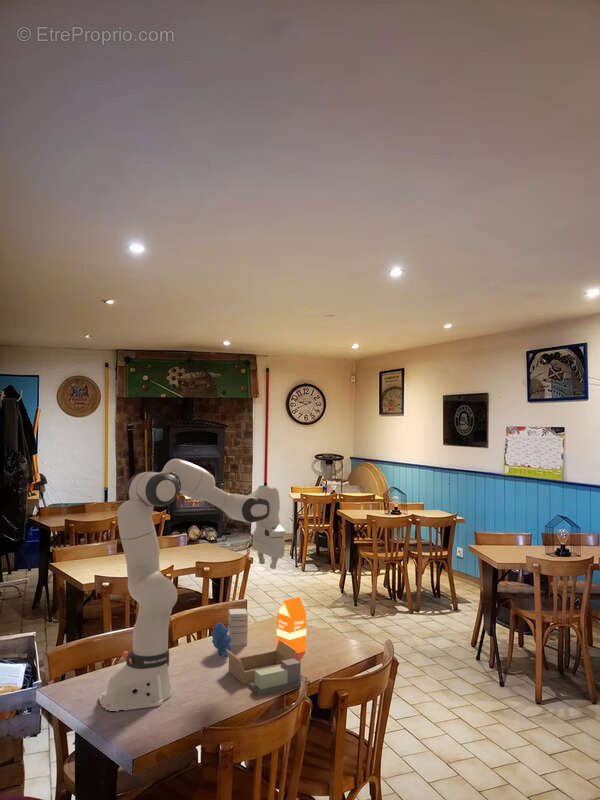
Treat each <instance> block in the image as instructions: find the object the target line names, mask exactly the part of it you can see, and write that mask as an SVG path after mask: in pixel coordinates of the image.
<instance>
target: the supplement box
mask: <svg viewBox="0 0 600 800" xmlns="http://www.w3.org/2000/svg"><path fill="white" fill-rule="evenodd" d="M248 621H249V614H248V611H247V608H231V609H228V627H227V629H228V633H227V634H228V635H229V636H230V637H231V642H230V643H229V644H230V645H231V646H232V647H239V646H240V647H241V646H248V627H249V626H248V625H249V624H248V623H249V622H248Z"/></svg>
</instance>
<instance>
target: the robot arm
mask: <svg viewBox="0 0 600 800" xmlns="http://www.w3.org/2000/svg"><path fill="white" fill-rule="evenodd" d="M126 487H127V488H126V494H125V501H124V502H123V503H121V504H120V505H119V507H118V508H117V512H116V513H117V526H118V531H119V537H120V541H121V546H122V549H123V554H124V557H125V562H126V572H127V573H126V574H127V589H128V592H129V594H130V596H131V598H132V599H133V600H134V601H136V602H137V603H138V615H137V618H136V622H135V623H134V625H133V634H132V637H133V638H132V650H131V651H130V652H128V650H125V651H123V653H122V654H121V655H122V657H123V659H124V660H125V661H126V664H124V665H123V666H122V667H121V668H120V669H119V670H118V671H116V672H115V673H114V674H113V675H112V676H111V677H110V678H109V680H108V681H107V682H108V683H107V687H106V688H107V689H106V690H105V691H102V692H101V694H100V695H99V697H98V698H99V699H98V702H100V703H99V705H100V704H101V705H100V706H102V707H103V708H105V709H107V710H109V711H116V712H120V711H119V710H124V711H129V710H138V709H146V708H154V707H159V706H161V705H162V704H163V703H164V701H166V700H167V699H169V698H171V696H172V693H173V690H172V688H171V683H170V677H169V665H170V648H169V624H170V620H171V615H172V612H173V611H172V610H173V608H174V607H175V605H176V604H177V601H178V596H179V594H178V589H177V588H176V586H175V584H174V582H173V581H172V580H171V579H170V578H168V577H166V576H164V575H163V574H162V571H161V569H160V554H161V549H160V548H161V547H160V545H159V539H158V535H157V531H156V527H155V524H154V521H153V511H154V507H159V508H160V507H161V508H162V507H165V506H169V505H170V504H172V503H173V502H174V501H175V500H176V498H177V496H178V494H181V495H183V496H185V497H187V498H189V499H192V500H196V501H200V502H204V501H205V502H206V503H209V504H210V505H211V506H214V507H216V508H218V510H220V512H221V513H222V514H223V516H224V517H226V518H227V519H229V520H232V521H240V522H244V523H255V529H254V531H253V534H252V550H253V551H256V552H257V557H258V563H259V565H265V563H266V559H265V557H264V556H265V555H266V556H268V557H270V558H271V563H270V564H269V566H270V567H269V568H270V569H271V570H276V569H277V564H278V562H279V559H283V557H284V556H285V551H286V549H285V548H286V547H285V546H286V545H285V544H286V540H285V537H286V530H285V529H284V528H283V527H282V525H281V524H280V517H279V515H280V514H279V513H280V508H281V506H280V505H281V503H280V493H279V490H278V489H277V487H275V486H274V487H273V486H267V485H259V486H258V488H257V489H255V490H254V491H253V492H251V493H250V494H247V495H245V494H240V493H236V492H226V491H224V490H222V489H221V488H219V487H217V486H216V479H215V477H214V475H213V474H212V473H211V472H209V471H208V470H206V469H205V468H203V467H202V466H199V465H197V464H194V463H192V462H190V461H188V460H185V459H181V458H172V459H170V460H169V461H167V462H166V464H165V465H164V467H163V468H162V470H161V471H159V472H157V471H141V472H138V473H135V474H134V475H132V476H131V477H130V479H129V480H128V483H127V486H126ZM102 707H101V708H102ZM103 708H102V709H103ZM105 709H104V710H105ZM107 710H106V711H107ZM109 711H108V712H109Z"/></svg>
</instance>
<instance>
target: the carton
mask: <svg viewBox="0 0 600 800" xmlns="http://www.w3.org/2000/svg"><path fill="white" fill-rule="evenodd" d="M226 652H227V655H228V656H227V657H228V672H229V673H231V674H232V675H233V676H234V677H235V678H236V679H237V680H238V681H239V682H240V683H242V684H243V685H246V684H247V685H249V683H253V682H255V671H256V670H261V669H266V668H271V667H276V666H281V661H283V660H288V659H293V658H294V659H296V658H295V657H296V650H295V649H293V648H292V647H290V646H288V645H287V644H285V643H284V642H282V641H281V640H279V642H278V645H277V644H276V649H275V650H272V651H268V652H267V651H266V652H261V653H256V654H251V655H250V654H249V655H246V656H245V655H244V656H240V657H237V655H235V654H234V653H233V652H231V651H229V650H228V649H226ZM274 663H276V664H275V665H270V664H274ZM268 664H269V666H264V665H268ZM257 666H264V667H261V668H255V669H250V670H245V669H247V668H248V669H249V668H253V667H257Z"/></svg>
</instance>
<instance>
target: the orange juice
mask: <svg viewBox="0 0 600 800" xmlns="http://www.w3.org/2000/svg"><path fill="white" fill-rule="evenodd" d="M279 640H281V641H282V642H284V643H285V644H287V645H288V646H290V647H292V648H293V649H295V650H296V653H297V654H299V653H303V652H306V651H307V611H306V609H305V607H304V604H303V601H302V599H301V597H300V596H299V597H294V598H290V599H286V600H285V599H284V600H283V601H282V604H281V606H280V607H279V609H278V611H277V613H276V646H277V645H278V642H279ZM305 650H306V651H305ZM302 651H303V652H302Z"/></svg>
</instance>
